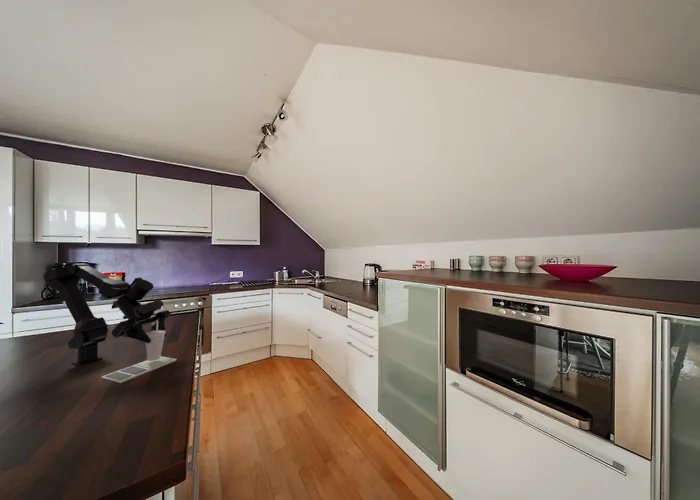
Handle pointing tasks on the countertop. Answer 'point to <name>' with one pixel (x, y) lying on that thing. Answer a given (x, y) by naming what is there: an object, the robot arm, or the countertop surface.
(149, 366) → the board
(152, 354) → the smoothie
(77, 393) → the countertop surface
